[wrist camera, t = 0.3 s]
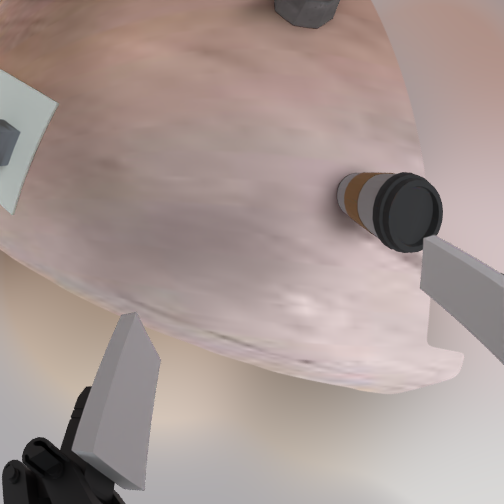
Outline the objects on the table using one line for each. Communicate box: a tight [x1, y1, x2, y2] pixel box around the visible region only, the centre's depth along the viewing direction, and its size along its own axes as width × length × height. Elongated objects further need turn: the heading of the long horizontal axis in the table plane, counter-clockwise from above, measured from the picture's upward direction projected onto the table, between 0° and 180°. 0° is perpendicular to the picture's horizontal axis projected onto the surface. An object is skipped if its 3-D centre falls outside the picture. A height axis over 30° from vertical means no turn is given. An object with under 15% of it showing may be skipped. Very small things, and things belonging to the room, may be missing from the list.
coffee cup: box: [337, 172, 443, 253], centre depth 30 cm, size 8×8×15 cm
